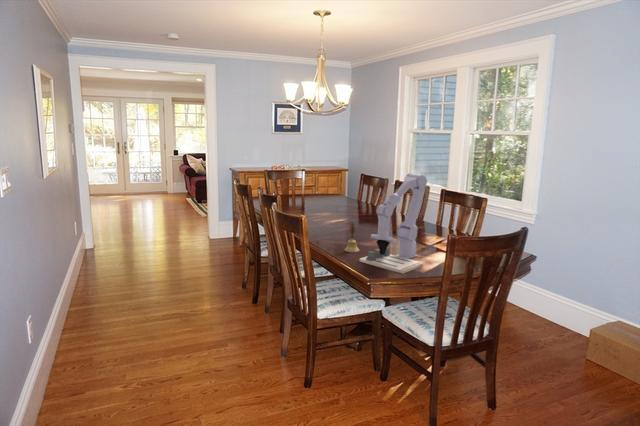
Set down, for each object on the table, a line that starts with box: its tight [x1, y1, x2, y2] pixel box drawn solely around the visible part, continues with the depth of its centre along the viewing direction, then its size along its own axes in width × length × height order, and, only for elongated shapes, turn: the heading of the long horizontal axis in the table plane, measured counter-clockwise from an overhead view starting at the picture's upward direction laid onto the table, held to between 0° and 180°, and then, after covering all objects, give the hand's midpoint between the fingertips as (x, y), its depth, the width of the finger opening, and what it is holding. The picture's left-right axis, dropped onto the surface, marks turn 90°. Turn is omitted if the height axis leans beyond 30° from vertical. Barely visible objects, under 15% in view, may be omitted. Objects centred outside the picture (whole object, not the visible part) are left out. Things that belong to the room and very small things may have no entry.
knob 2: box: [383, 246, 391, 256], centre depth 232 cm, size 4×4×4 cm
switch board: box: [359, 253, 424, 275], centre depth 223 cm, size 18×26×2 cm
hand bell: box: [344, 221, 360, 253], centre depth 244 cm, size 8×8×16 cm
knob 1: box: [366, 250, 376, 261], centre depth 223 cm, size 4×4×4 cm
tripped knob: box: [374, 248, 383, 258], centre depth 228 cm, size 4×4×4 cm
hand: (382, 254), depth 226 cm, fingers closed
